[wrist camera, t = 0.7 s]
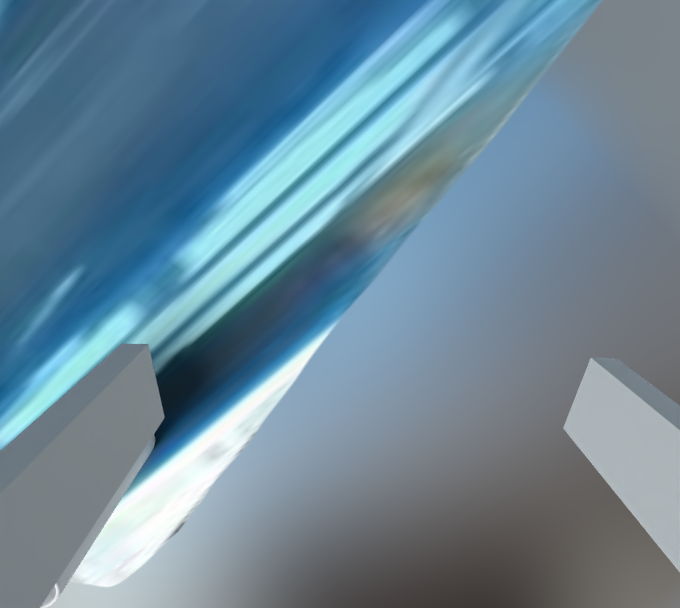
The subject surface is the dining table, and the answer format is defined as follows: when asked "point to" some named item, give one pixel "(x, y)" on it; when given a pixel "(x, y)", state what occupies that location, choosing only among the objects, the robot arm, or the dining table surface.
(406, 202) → the dining table surface
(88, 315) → the dining table surface
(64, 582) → the cup
